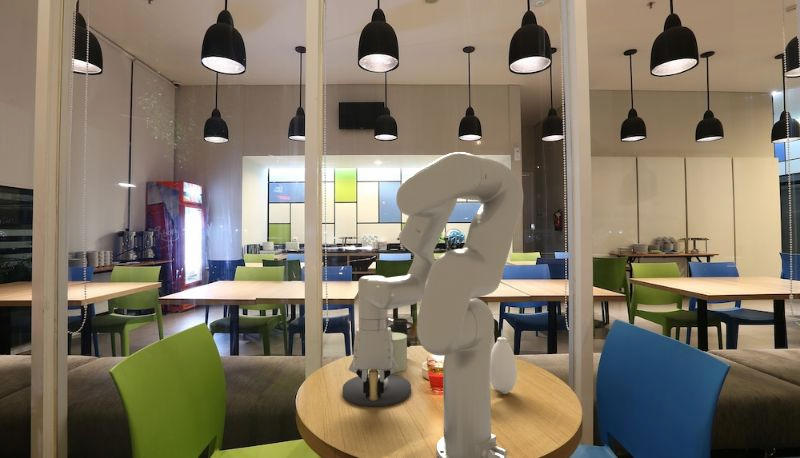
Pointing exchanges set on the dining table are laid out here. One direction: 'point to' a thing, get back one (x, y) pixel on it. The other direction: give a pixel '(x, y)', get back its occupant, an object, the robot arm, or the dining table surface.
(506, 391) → the sauce bottle
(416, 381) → the dining table surface
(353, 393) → the wheel
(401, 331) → the scope
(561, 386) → the dining table surface
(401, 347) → the can
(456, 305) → the robot arm
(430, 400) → the dining table surface
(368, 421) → the dining table surface
